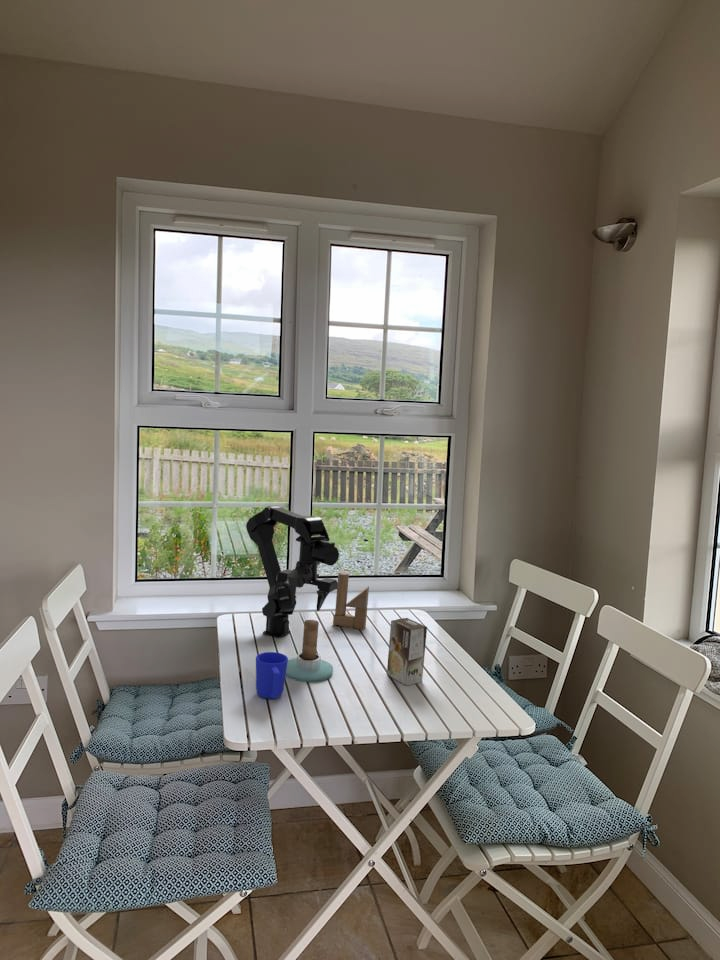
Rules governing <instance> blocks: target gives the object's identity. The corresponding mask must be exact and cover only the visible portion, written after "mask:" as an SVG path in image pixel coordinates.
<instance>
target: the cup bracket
mask: <svg viewBox="0 0 720 960" xmlns="http://www.w3.org/2000/svg"><path fill="white" fill-rule="evenodd" d="M333 672H334V667H333V665H332V664H331V663H330V662H328V661H326V660H323V659H322V657H321V655H320V654H319V653H317V652H316V660H304V659H302V652H299V653H297V654H296V658H295V657H294V658H290V659H288V663H287V669H286V676H285V677H287V678H289V679H291V678H292V680H294V679H295V680H294V681H298V680H300V681H299V682H304V681H305V682H307V683H315V682H314V681H318V682H322V681H326V680H328V679H330V678H332V676H333Z"/></svg>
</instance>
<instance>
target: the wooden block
mask: <svg viewBox="0 0 720 960" xmlns="http://www.w3.org/2000/svg"><path fill="white" fill-rule="evenodd" d="M337 574H338V575H337V583H338V589H336V596H335V598H336V599H335V612H334V614H333V617H332V618H333V619H332V626H335V625H339V626H338V627H342V626H344V627H343V628H349V627H351V629H355V628H357V629H356V630H363V629H364V630H365V629H366V626H367V615H368V605H369V603H368V601H369V593H370V586H369V585H368V586H367V587H366V588H365V589H363V590H362V591H360V592H359V593H358V594H357V595H356V596H355V597H353V598H352V599H351V600H350V601H348V590H349V589H348V588H349V580H350V579H349V577H350V573H349V572H345V571H340V572H338V573H337ZM347 608H354V615H352V613H351V614H349V613H347Z"/></svg>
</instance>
